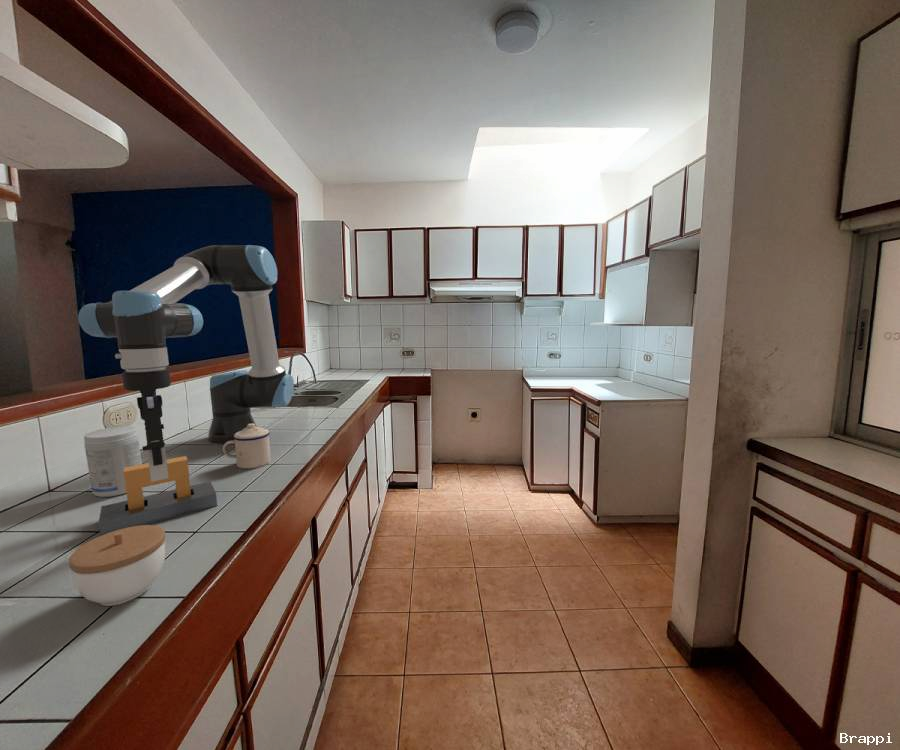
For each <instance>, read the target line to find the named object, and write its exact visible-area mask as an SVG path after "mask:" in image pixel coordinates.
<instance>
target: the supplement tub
mask: <svg viewBox="0 0 900 750" xmlns="http://www.w3.org/2000/svg"><path fill="white" fill-rule="evenodd" d="M83 437H84V439H83V440H84V441H83V443H84V450H85V456H86V462H87V469H88V473H89V479H90V485H91V493H92V494H93V495H94V496H96V497H100V498H107V497H115V496H120V495H123V494H124V495H125V494H127V493H126V486H125V478H124V467H129V466H135V465H140V464H143V462H142V456H141V455H142V454H141V448H140V441H139V436H138V432H137V428H136V427H135V426H133V425H132V426H131V425H123V426H112V427H106V428H102V429H98V430H93V431H90V432H86V434H85V435H84V436H83Z"/></svg>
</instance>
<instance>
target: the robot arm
mask: <svg viewBox="0 0 900 750" xmlns="http://www.w3.org/2000/svg"><path fill="white" fill-rule="evenodd" d="M277 281H278V267H277V264H276V262H275V259H274V257H273V255H272V254H271V253H270V251H269V250H268V249H267V248H266V247H264V246H262V245H261V246H260V245H252V244H247V245H245V244H244V245H243V244H242V245H241V244H239V245H238V244H237V245H233V244H231V245H230V244H229V245H228V244H227V245H226V244H225V245H221V244H218V245H217V244H215V245H209V246H204V247H201V248H198V249H196V250H192V251H191V252H189V253H186V254H184V255H182V256H180V257H179V258H177V259H176V260H175V261H174V263H173V266H171V267H169V268H168V269H166V270H164V271H162V272H161V273H159V274H157V275H156V276H153V277H152V278H150V279H149V280H146V281H144V282H143V283H142V284H141V283H140V284H139V285H137V286H135V287H134V288H132V289H131V290H117V291H114V292H113V294H112V296H111V298H112V299H111V300H110V301H108V302H96V303H95V302H94V303H88V304H84V305H83V306H82V307H81V308H80V309H79V312H78V316H77V317H78V319H77V320H78V323H79V326H80V327H81V329H82V330H83V331H84V333H86V334H88V335H89V336H91V337H98V338H107V339H112V338H117V347H118V352H119V353H115V354H114V357H115V359H116V360H117V359H120V362H119V363H120V368H121V369H123V370H124V371H122V373H121V380H122V386H123V389H124V390H125V391H128V392H138V391H139V393H140V395H141V396H139V397H138V396H137V397H136V402H137V408H138V409H139V413H140V419H141V420H143V421H144V423H143V425H144V430H145V438H146V445H143V446H142V451H143V452H145V451H147V460H148V463H149V469H150V476H151V482H153V481H158V480H162V479H167V478H168V470H167V461H166V460H167V455H166V447H165V445H166V443H165V441H164V435H163V434H164V433H163V430H164V429H165V426H164V425H165V424H164V423H162V421H161V420H162V419H161V418H162V417H163V407H162V406H163V398H162V395H161V394H158V395H157V390H160V389H166V388H169V387H170V386H171V384H172V383H171V376H170V370H169V369H168V368H167V367H168V366H169V365H170V362H169V354H168V347H167V344H166V339H168V338H187V337H192V336H195V335H197V334H199V332H201V330H202V328H203V325H204V319H203V315H202V313H201V312H200V310H199V309H198V308H197V307H195V306H194V305H191V304H187V303H183V302H182V303H177V302H179V301H180V300H181V299H183V298H185V297H186V296H187V295H188V294H191V292H193V291H195V290H201V289H204V288H205V287H207V286H210V285H230V287H231V292H232V293H233V294H235V295H236V296H238V301H239V306H240V307H239V308H240V311H241V318H242V323H243V327H244V332H245V338H246V342H247V347H248V349H247V350H248V355H249V358H250V364H251V368H250V369H249V370H248V371H247V370H246V369H245V370H243V369H242V370H235V371H229V372H228V371H227V372H224V373H217V374H214V375H212V376H211V377H210V379H209V392H210V403H211V412H212V420H211V423H210V426H209V431H208V441H209V442H211V443H217V444H223V443H224V444H225V443H226V442H228V441H233V440H235V439H234V435H235V434H236V433H237V432H239V431H242V430H243V429H245V428H247V425H248V424H252V423H253V424H255V427H258V425H257V423H256V421H255V419H254V417H253V416H252V413H251V409H253V408H254V409H255V408H260V409H261V408H262V409H267V408H268V409H270V408H272V409H276V408H284V407H286V406H288V405H289V403H290V402H291V400H292V398H293V394H294V390H295V389H294V388H295V387H294V386H295V384H294V383H295V382H294V377H293V376H292V374H289V373H286V368H285V367H284V366H283V365H282V364H280V359H279V355H278V354H279V353H278V346H277V340H276V336H275V335H276V334H275V329H274V322H273V321H274V320H273V316H272V310H271V304H270V302H271V301H270V296H269V294H270V293H271V292H272V291H273V285H275V284H276V283H277Z"/></svg>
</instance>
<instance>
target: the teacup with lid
mask: <svg viewBox="0 0 900 750" xmlns="http://www.w3.org/2000/svg"><path fill="white" fill-rule="evenodd" d="M255 424H256V423H255ZM255 424H253V423H252V424H248V425H247V428H245V429H243V430H242V431H239V432H237V433H236V434H235V435H234V439H235V440H233V441H228V442H226V443H224V444H223V446H222V452H223V454H224V455H225V456H226V457H227V458H228V459H229V458H231V459H236V466H237V468H239V469H247V470H248V469H256V468H260V467H263V466H265V465H268V464H269V463H271V450H270V448H271V446H270V431H269V430H268V429H266V428H261V427H259V426H257V427H255ZM231 444H232V445H233V444H234V445H235V446H234V447H235V454H231V453H229V452H228V451H227V446H228V445H231Z"/></svg>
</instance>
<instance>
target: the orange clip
mask: <svg viewBox="0 0 900 750" xmlns="http://www.w3.org/2000/svg"><path fill="white" fill-rule="evenodd" d="M166 461H167V470H168V478H167V479H162V480H158V481H153V482H151V476H150V469H149V462H146V463H142V464H140V465H135V466H129V467H124V478H125V486H126V493H125V494H126V499H127V500H126V501H128V508H129V510H133V509H137V508H141V507H144V499H143V497H144V494H143V493H144V492H143V488H147V487H151V486H155V485H160V484H164V483H170V482H175V489H176V493H177V499H178V498H182V497H186V496H190V495H191V490H190V486H191V483H190V471H189V470H190V469H189V462H188V458H187V455H183V456H179V457H174V458H166Z"/></svg>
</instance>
